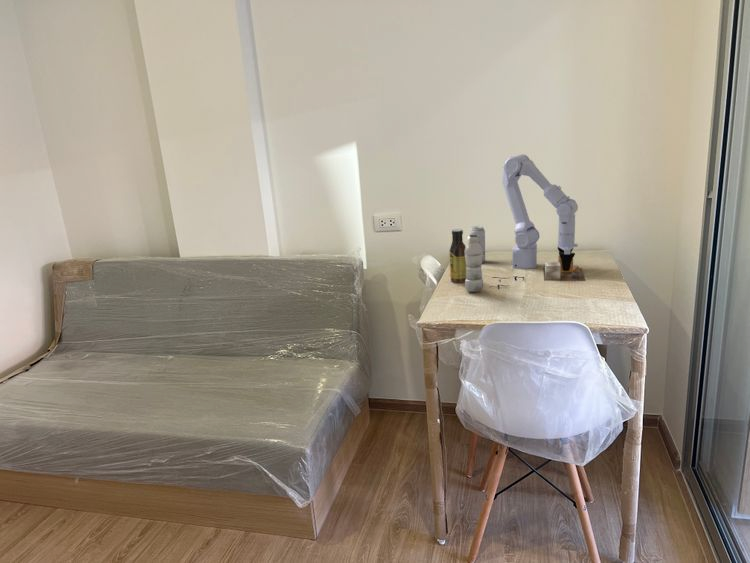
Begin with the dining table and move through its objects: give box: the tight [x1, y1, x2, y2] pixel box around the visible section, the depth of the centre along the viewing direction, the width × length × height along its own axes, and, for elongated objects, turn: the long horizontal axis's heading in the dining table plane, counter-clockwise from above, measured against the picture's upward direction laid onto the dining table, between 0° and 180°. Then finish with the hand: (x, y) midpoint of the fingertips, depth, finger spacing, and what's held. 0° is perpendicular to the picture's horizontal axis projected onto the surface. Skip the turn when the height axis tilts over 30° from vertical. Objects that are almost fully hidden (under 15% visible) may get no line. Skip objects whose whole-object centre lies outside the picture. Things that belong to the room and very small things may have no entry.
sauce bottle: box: [448, 228, 467, 283], centre depth 202 cm, size 7×6×20 cm
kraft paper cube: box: [557, 255, 574, 272], centre depth 203 cm, size 5×5×5 cm
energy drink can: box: [469, 225, 486, 263], centre depth 226 cm, size 6×6×15 cm
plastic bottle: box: [464, 234, 484, 293], centre depth 189 cm, size 6×7×20 cm
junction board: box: [542, 261, 586, 282], centre depth 199 cm, size 14×16×6 cm
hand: (565, 268), depth 203 cm, fingers open, 6 cm apart
